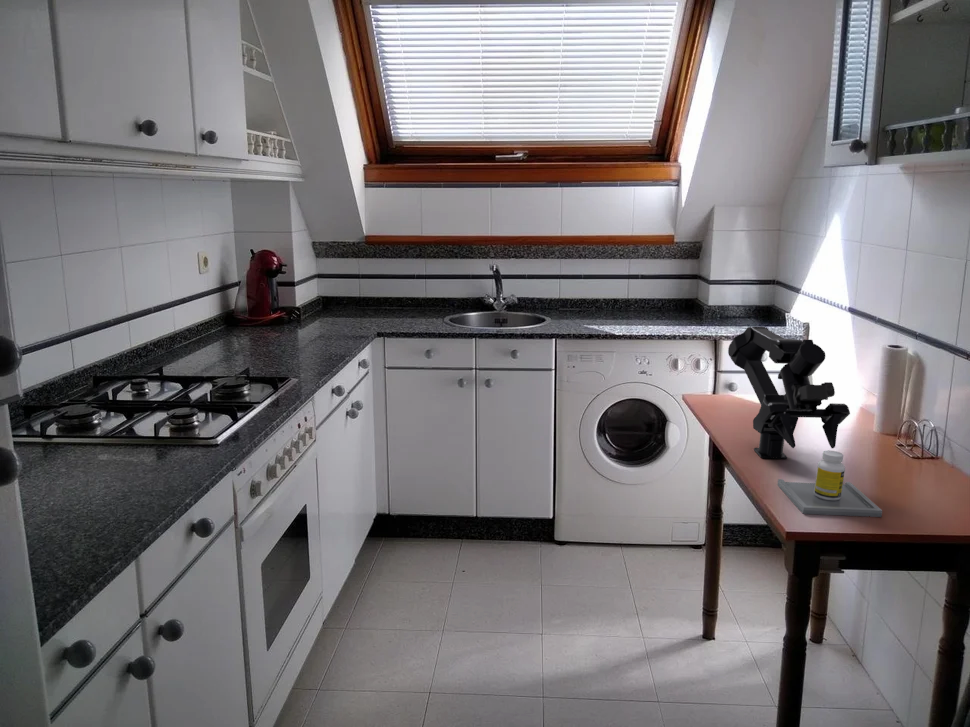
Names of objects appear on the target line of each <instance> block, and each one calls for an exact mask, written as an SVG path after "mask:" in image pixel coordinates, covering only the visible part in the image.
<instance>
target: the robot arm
mask: <svg viewBox="0 0 970 727" xmlns="http://www.w3.org/2000/svg"><path fill="white" fill-rule="evenodd" d="M727 349H728V350H727V353H728V356H729V357H730V360H731V361H732V362H733V363H734V365H735V366H737V367H739V368H740V369H742V370H743V371H744V373H745V375H746V376H747V379H748V381H749V383H750V385H751V386H752V389H753V391H754V394H755V396H756V397H757V399H758V401H759V404H760V408H759V410H758V413H757V414H756V415H755V417H754V418H753V419H752V426H753V429H754V430H755V431H756V432H757V433H759V434H760V436H759V444H758V447H754V448H753V450H754V452H755V453H756V454H757V455H758V456H759V457H760V458H762V459H776V460H777V459H778V460H782V459H783V460H787V459H788V456H787V455H786V454H785V453H784V446H785V445H784V444H785V441H786V443H787V444H788V445H789V447H790V448H792V449H794V448H796V441H795V440H796V439H795V437H794V436H795V435H794V433H795V430H796V427H797V423H798V421H799V418H816V419H817V418H820V420H821V422H822V423H823V425H822V426H821V427H822V429H823V432H824V435H825V436H826V440H827V442H828V445H829V446H830V449H835V448H836V443H837V442H836V441H837V434H838V428H839V425H841V423H842V422H843V421H845V419H846V418H848V417H849V416H850V415H851V412H850V407H849V406H848V405H847V404H845V403H833V402H832V403H829V404H827V406H826V407H825V408H818V407H820V406H821V405H822V401H824V400H825V401H826V400H827V401H828V400H829V398H832V397H834V396H835V394H836V392H835V387H834V384H833V382H830V381H829V382H824V383H822V382H821V384H811V383H810V378H809V377H811V376H812V375H813V374H815V372H816V371H817V370H818V369H819V367H820V366H821V365H822V364H823V362H824V361H825V359H826V353H825V350H823V348H821V346H819V345H818V344H815V343H814V341H813V339H803V340H801V339H796V338H795V339H794V338H793V339H792V338H784V337H782V336H781V335H779V334H777V333H775V332H773V331H771V330H769V328H768V327H765V326H750V327H747V328H746V329H745V331H744V332H742V333H740V334H738V335H736V336H735V337H733V339H732V341H731V342H730V344H729V345H728V347H727ZM766 352H768V353H769V355H768V357H769V359H770V360H771V361H772V362H773V363H774V364H780V365H781V364H783V367H782V368H781V369H780V370H779V373H778V374H777V379H778V380H782V384H783V387H784V391H785V394H779V392H778V391H777V390H778V389H777V388H776V386H775V384H774V383H773V381H772V378H771V376H770V374H769V373H768V371H767V368H766V367H765V365H764V363H763V361H762V359H763V356H764V354H765V353H766ZM784 364H785V365H784Z"/></svg>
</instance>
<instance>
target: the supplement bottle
mask: <svg viewBox="0 0 970 727" xmlns="http://www.w3.org/2000/svg"><path fill="white" fill-rule="evenodd" d="M843 461H844V453H842V452H840V451H837V450H830V449H829V450H824V451H823V453H822V459H821V460H820V461H818V463H817V467H816V475H815V482H814V483H815V487H814V495H815V496H817V497H818V498H821V499H824V500H832V501H835V500H839V499H840V498H841V492H842V485H843V484H844V477H845V472H846V467H845V465H844V463H842V462H843Z"/></svg>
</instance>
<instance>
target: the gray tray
mask: <svg viewBox="0 0 970 727" xmlns="http://www.w3.org/2000/svg"><path fill="white" fill-rule="evenodd" d="M777 486H778V488H779V489H780V490H781V491H782V492H783V493H784V494H785V496H787V497H788V500H790V501H791V502H792V503H793V505H795V507H796V508H797V509H798V510H799V511H800V512H801V513H802V514H805V515H823V516H824V515H828V516H849V517H850V516H851V517H869V516H870V517H872V518H876V517H877V518H883V517H882V515H883V510H882V508H880V507H879V506H878V505H877V504H876V503H874V501H872V500H871V499H870V498H869V497H867V495H865V494H864V493H863V492H862V491H861V490H860V489H859V488H857V487H856V486H855V485H854V484H853V483H852V482H850V481H845V482H844V483H843V485H842V492H841V498H840V499H839V500H835V501H832V500H824V499H821V498H818V497H817V496H815V495H814V487H815V482H800V481H799V482H795V481H794V482H793V481H785V480H784V479H783V478H778V479H777ZM870 517H869V518H870Z"/></svg>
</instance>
